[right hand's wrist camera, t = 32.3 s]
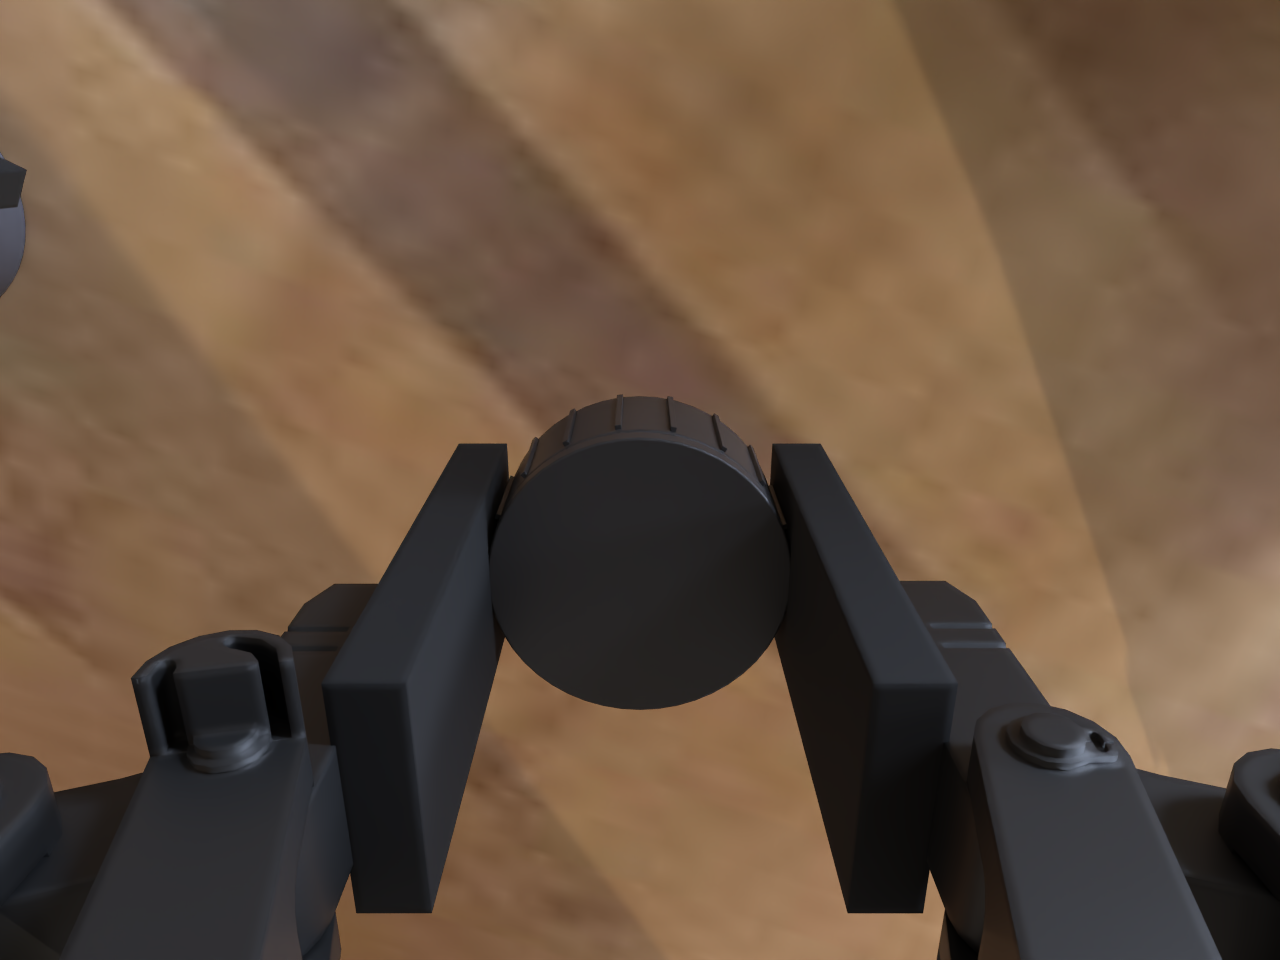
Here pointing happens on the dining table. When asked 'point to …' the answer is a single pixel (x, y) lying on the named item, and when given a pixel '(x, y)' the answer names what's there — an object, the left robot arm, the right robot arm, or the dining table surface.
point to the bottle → (11, 243)
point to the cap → (639, 555)
